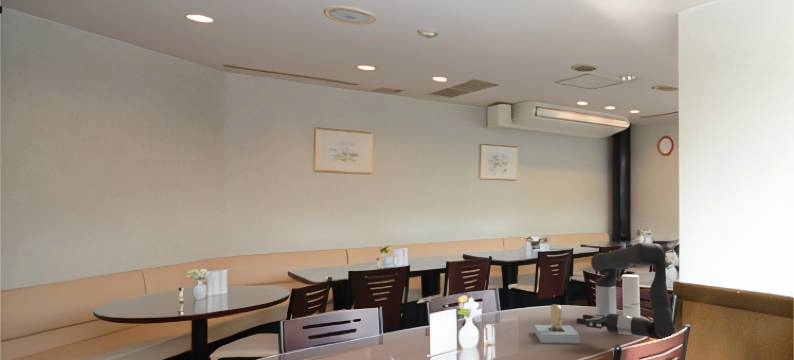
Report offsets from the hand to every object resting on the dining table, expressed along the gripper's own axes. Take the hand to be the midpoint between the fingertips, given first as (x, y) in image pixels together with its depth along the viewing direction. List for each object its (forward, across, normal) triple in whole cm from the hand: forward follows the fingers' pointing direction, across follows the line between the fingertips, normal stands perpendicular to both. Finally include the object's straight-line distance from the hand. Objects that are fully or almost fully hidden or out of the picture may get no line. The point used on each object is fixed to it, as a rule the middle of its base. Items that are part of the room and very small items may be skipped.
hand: (580, 318), depth 216 cm
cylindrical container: (-14, -32, +10) cm, 37 cm away
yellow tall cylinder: (+10, 0, +10) cm, 14 cm away
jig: (+10, 0, +10) cm, 14 cm away
